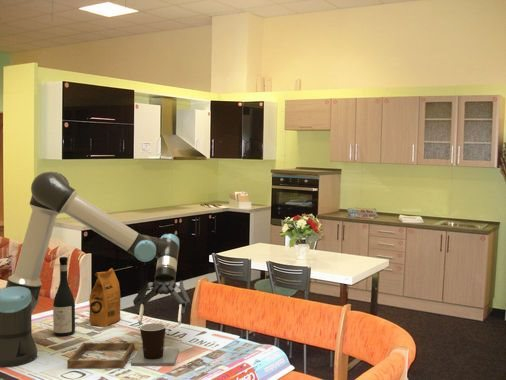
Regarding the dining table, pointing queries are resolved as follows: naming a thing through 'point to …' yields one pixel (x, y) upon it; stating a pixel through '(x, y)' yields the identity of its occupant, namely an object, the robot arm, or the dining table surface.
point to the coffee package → (105, 300)
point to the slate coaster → (166, 360)
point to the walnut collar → (105, 363)
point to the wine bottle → (63, 304)
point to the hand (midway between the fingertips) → (159, 322)
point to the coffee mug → (153, 340)
